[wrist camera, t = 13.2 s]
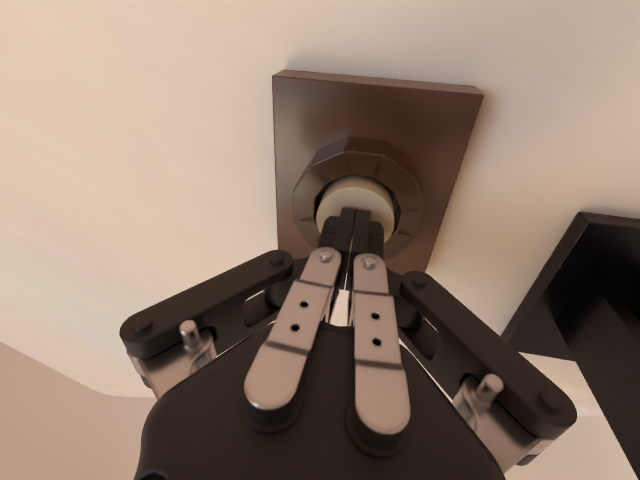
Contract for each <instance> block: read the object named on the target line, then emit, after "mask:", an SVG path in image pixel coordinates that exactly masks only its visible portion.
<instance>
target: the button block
mask: <svg viewBox="0 0 640 480" xmlns="http://www.w3.org/2000/svg"><path fill="white" fill-rule="evenodd" d="M272 91H273V120H274V149H275V177H276V206H277V235H278V250H282V251H286V252H288V253H289V254H290V255H291V256H292V258H293V259H302V258H306V257H309V256H310V254H311V252H312V251H313V250H315V249H316V248H317V245H318V241H319V238H320V235H321V234H320V232H319V229H318V226H317V220H316V217H317V211H318V208H319V205H320V202H321V199H322V196H323V194H324V192H325V190H326V188H327V187H328V185H329V184H330V183H331V182H332V181H334V180H335V179H338V178H340V177H343V176H345V175H348V174H354V175H362V176H371V177H374V178H376V179H377V180H378V181H380V182H381V183H383V184H384V185H385V186H387V187H388V189H389V190H390V192H391V194H392V196H393V200H394V219H395V224H394V229H393V232H392V234H391V236H390V238H389V239H388V240H387V241H386V242H385V243H384V261H385V264H386V266H387V267H388V268H389V269H390V270H391V271H393V272H395V273H397V274H400V275H404V274H405V273H407V272H409V271H420V272H423V273H425V271H426V268H427V265H428V262H429V259H430V256H431V253H432V250H433V247H434V244H435V241H436V238H437V235H438V232H439V229H440V226H441V223H442V220H443V217H444V214H445V211H446V208H447V205H448V202H449V199H450V196H451V193H452V190H453V187H454V184H455V181H456V178H457V175H458V172H459V169H460V166H461V163H462V160H463V157H464V154H465V151H466V148H467V145H468V142H469V139H470V136H471V133H472V130H473V127H474V124H475V121H476V118H477V115H478V112H479V109H480V106H481V103H482V100H483V97H484V95H483V94H482V93H481V92H480V91H479V90H478V89H477V88H476V87H474V86H464V85H453V84H442V83H430V82H419V81H407V80H396V79H384V78H373V77H362V76H350V75H339V74H327V73H316V72H304V71H293V70H282V71H280V72H278V73H276V74H275V75H273V76H272ZM349 260H350V253H349ZM349 260H348V266H347V273H348V267H349Z"/></svg>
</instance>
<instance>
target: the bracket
mask: <svg viewBox="0 0 640 480" xmlns="http://www.w3.org/2000/svg"><path fill="white" fill-rule="evenodd" d="M501 338H502V339H503V340H505V341H506V342H507V343H508V344H509V345H510V346H511V347H513V348H514V349H515V350H516V351H517V352H523V353H529V354H535V355H541V356H546V357H552V358H558V359H564V360H570V361H576V363H577V365H578V367H579V369H580V371H581V372H582V374H583V376H584V378H585V380H586V382H587V384H588V386H589V387H590V389H591V391H592V393H593V395H594V397H595V399H596V401H597V403H598V404H599V406H600V408H601V410H602V412H603V414H604V416H605V418H606V419H607V421H608V423H609V425H610V427H611V429H612V431H613V432H614V434H615V436H616V438H617V440H618V442H619V443H620V446H621V448H622V449H623V451H624V453H625V455H626V457H627V459H628V461H629V463H630V464H631V466H632V468H633V470H634V472H635V474H636V476H637V478H638V480H640V219H632V218H624V217H616V216H608V215H600V214H592V213H584V212H578V214H577V215H576V217H575V219H574V220H573V222H572V223H571V225H570V226H569V228H568V230H567V231H566V233H565V234H564V236H563V238H562V239H561V241H560V242H559V244H558V246H557V247H556V249H555V250H554V252H553V254H552V255H551V257H550V258H549V260H548V262H547V263H546V265H545V266H544V268H543V270H542V271H541V273H540V274H539V276H538V278H537V279H536V281H535V282H534V284H533V286H532V287H531V289H530V290H529V292H528V294H527V295H526V297H525V298H524V300H523V302H522V303H521V305H520V306H519V308H518V310H517V311H516V313H515V314H514V316H513V318H512V319H511V321H510V322H509V324H508V326H507V327H506V329H505V330H504V332H503V333H502V335H501Z"/></svg>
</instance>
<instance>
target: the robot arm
mask: <svg viewBox="0 0 640 480" xmlns="http://www.w3.org/2000/svg"><path fill="white" fill-rule="evenodd" d="M355 211H356V209H350V208H343V207H342V209H341V213H340V217H338V216H329V217H328V218H327V219H326V220H325V221H324V225H323V228H322V231H321V235H320V238H319V241H318V245H317V248H316V249H315V250H313V251H312V252H311V254H310V256H309V257H306V258H302V259H293V258H292V256H291V255H290V254H289V253H288V252H286V251H282V250H272V251H269V252H267V253H264V254H262V255H260V256H258V257H256V258H254V259H252V260H249V261H247V262H245V263H243V264H241V265H239V266H236V267H234V268H232V269H230V270H228V271H226V272H224V273H221V274H219V275H217V276H215V277H213V278H211V279H209V280H206V281H204V282H202V283H200V284H198V285H196V286H194V287H191V288H189V289H187V290H185V291H183V292H181V293H179V294H176V295H174V296H172V297H170V298H168V299H166V300H164V301H161V302H159V303H157V304H155V305H153V306H151V307H149V308H146V309H144V310H142V311H140V312H138V313H136V314H134V315H132V316H131V317H129V318H128V319H127V320H126V321H125V322H124V323H123V324H122V326H121V328H120V337H121V339H122V341H123V343H124V345H125V347H126V350H127V354H128V356H129V358H130V360H131V361H132V363H133V365H134V367H135V369H136V371H137V373H138V374H140V376H141V378H142V380H143V382H144V384H145V385H146V386H147V387H148V388H151V389H152V390H153V392H154V394H155V396H156V398H157V400H158V401H157V402H156V403H155V405H154V406H153V408H152V409H151V411H150V412H149V414H148V416H147V419H146V421H145V424H144V427H143V431H142V437H141V452H140V459H139V463H138V468H137V471H136V474H135V477H134V480H506V479H505V477H504V474H505V473H506V472H507V471H508V470H509V469H511V468H512V467H513V466H514V465H519V466H521V465H522V466H523V465H527V464H528V463H530V462H531V461H532V460H533V459H534V458H535V457H536V456H538V455H539V454H540V453H541V452H542V451H543V450H544V449H545V448H546V447H548V446H549V445H550V444H551V443H552V442H553V441H555V440H556V439H557V438H558V437H559V436H560V435H561V434H563V433H564V432H565V431H566V430H567V429H568V428H569V427H571V426H572V425H573V424H574V423H575V422H576V419H577V411H576V408H575V406H574V404H573V402H572V401H571V399H570V398H569V397H568V396H567V395H566V394H565V393H564V392H563V391H562V390H561V389H560V388H559V387H558V386H556V385H555V384H554V383H553V382H552V381H551V380H550V379H548V378H547V377H546V376H545V375H544V374H543V373H541V372H540V371H539V370H538V369H537V368H536V367H535V366H533V365H532V364H531V363H530V362H529V361H528V360H526V359H525V358H524V357H523V356H522V355H521V354H520V353H518V352H517V351H516V350H515V349H514V348H513V347H511V346H510V345H509V344H508V343H507V342H506V341H505V340H503V339H502V338H501V337H500V336H499V335H498V334H497V333H495V332H494V331H493V330H492V329H491V328H490V327H488V326H487V325H486V324H485V323H484V322H483V321H482V320H480V319H479V318H478V317H477V316H476V315H475V314H473V313H472V312H471V311H470V310H469V309H468V308H467V307H465V306H464V305H463V304H462V303H461V302H460V301H458V300H457V299H456V298H455V297H454V296H453V295H452V294H450V293H449V292H448V291H447V290H446V289H445V288H443V287H442V286H441V285H440V284H439V283H438V282H437V281H435V280H434V279H433V278H432V277H431V276H429V275H428V274H426V273H423V272H420V271H409V272H407V273H405V274H404V275H400V274H397V273H395V272H393V271H391V270H390V269H389V268H388V267H387V266H386V264H385V261H384V227H383V226H382V224H381V223H380V222H375V221H370V218H371V211H366V210H358V209H357V213H356V219H355ZM354 219H355V226H354ZM353 226H354V232H353ZM352 233H353V239H352ZM351 240H352V246H351ZM350 247H351V252H350ZM349 253H350V260H349ZM348 260H349V267H348V274H347V281H346V288H345V290H348V291H349V298H348V304H347V326H342V327H338V326H334V325H332V324H330V323H331V319H332V316H333V312H334V308H335V305H336V300H337V297H338V295H339V289H342V290H344V285H345V279H346V273H347V266H348ZM262 290H263V292H262V293H260V294H258V295H256V296H254V297H253V298H251V299H249V300H247V299H248V298H249V297H251V296H253V295H255V294H257V293H259V292H260V291H262ZM246 300H247V301H246ZM425 318H426V319H427V320H428V321H429V322H430V323H431V325H432V326H433V327H434V328H435V329H436V330H437V331H438V332H439V333H438V332H437V331H436V330H435V329H434V328H433V327H432V326H431V325H430V324H429V323H428V322H427V321H426V320H425ZM274 320H276V321H275V322H274V323H271V322H272V321H274ZM269 323H271V324H269ZM268 324H269V325H268ZM398 337H399V338H400V339H401V341H402V342H403V343H404V344H405V345H406V346H407V348H408V349H409V350H410V351H411V352H412V353H413V355H414V356H415V357H416V358H417V359H418V360H419V362H420V363H421V364H422V365H423V366H424V367H425V369H426V370H427V371H428V372H429V373H430V374H431V376H432V377H433V378H434V379H435V380H436V381H437V383H438V384H439V385H440V386H441V387H442V388H443V390H444V391H445V392H446V393H447V394H448V395H449V397H450V398H451V399H452V400H453V402H452V403H451V402H450V401H449V400H448V398H447V397H446V396H445V395H444V393H443V392H442V391H441V390H440V388H439V387H438V386H437V385H436V383H435V382H434V381H433V380H432V378H431V377H430V376H429V375H428V373H427V372H426V371H425V370H424V368H423V367H422V366H421V365H420V363H419V362H418V361H417V360H416V358H415V357H414V356H413V355H412V354H411V353H410V352H409V351H408V350H407V349H406V348H405V347H403V346H402V345H401V344H399V338H398ZM243 339H244V340H243ZM240 341H241V342H240ZM237 343H238V344H237ZM235 344H236V345H235ZM234 345H235V346H234ZM232 346H233V347H232ZM231 347H232V348H231ZM229 348H230V349H229ZM227 349H229V350H227ZM226 350H227V351H226ZM224 351H226V352H224ZM223 352H224V353H223ZM221 353H223V354H221ZM219 354H221V355H220V356H218V355H219ZM216 356H218V357H217V358H216Z"/></svg>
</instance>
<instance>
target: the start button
mask: <svg viewBox="0 0 640 480" xmlns="http://www.w3.org/2000/svg"><path fill="white" fill-rule="evenodd" d="M342 207H343V208H350V209H356V211H355V219H356V213H357V209H358V210H366V211H371V218H370V221H375V222H380V223H381V224H382V226H383V227H384V243H385V242H386V241H387V240H388V239H389V238H390V236H391V234H392V232H393V229H394V224H395V219H394V200H393V196H392V194H391V192H390V190H389V189H388V187H387V186H385V185H384V184H383V183H381V182H380V181H378V180H377V179H376V178H374V177H371V176H362V175H354V174H348V175H345V176H343V177H340V178H338V179H335V180H334V181H332V182H331V183H330V184H329V185H328V187H327V188H326V190H325V192H324V194H323V196H322V199H321V202H320V205H319V208H318V211H317V217H316V220H317V226H318V229H319V232H320V234H321V231H322V228H323V225H324V221H325V220H326V219H327V218H328V217H329V216H338V217H340V213H341V209H342ZM355 219H354V226H355ZM354 226H353V232H354ZM352 239H353V233H352ZM351 246H352V240H351ZM350 252H351V247H350Z"/></svg>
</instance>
